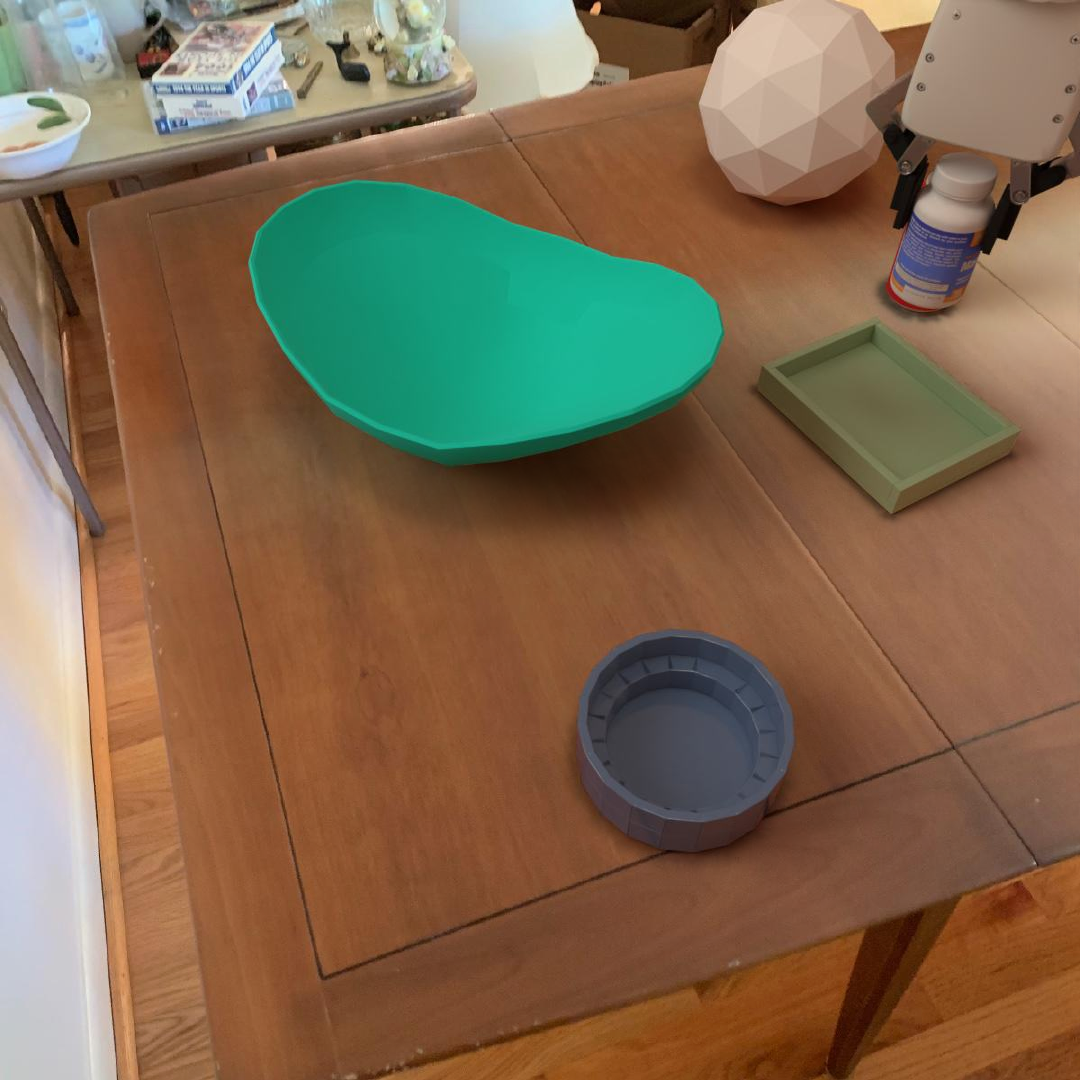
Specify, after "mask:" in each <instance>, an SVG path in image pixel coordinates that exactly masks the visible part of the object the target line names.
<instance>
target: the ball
mask: <svg viewBox="0 0 1080 1080" xmlns="http://www.w3.org/2000/svg"><path fill="white" fill-rule="evenodd" d="M895 54H896V53H895V50H894V49H893V48H892V46H891V45H890V44H889V43H888V41H887V40H886V38H885V37H884V36H883V35H882V33H881V32H880V31H879V29H878V28H877V27H876V25H875V24H874V22H873V21H872V20H871V18H870V17H869V16H868V14H867V13H866V12H865V10H864V9H862V8H859V7H856V6H853V5H850V4H848V3H845V2H842V1H839V0H780V1H777V2H774V3H771V4H767V5H764V6H761V7H757V8H754V9H753V10H752V12H750V13H749V14H748V16H747V17H745V18H744V20H743V21H741V23H740V24H739V25H738V26H737V27H736V28H735V29H734V30H733V31H732V32H731V33H730V34H729V35H728V36H727V37H726V39H725V40H724V41H722V43H720V44H719V46H717V49H716V52H715V55H714V58H713V61H712V63H711V67H710V70H709V73H708V76H707V79H706V81H705V84H704V87H703V90H702V92H701V95H700V98H699V101H698V108H699V113H700V116H701V121H702V125H703V130H704V134H705V139H706V143H707V148H708V152H709V153H710V155H711V156H712V158H713V159H714V161H715V162H716V164H717V165H718V167H719V168H720V170H721V171H722V172H723V174H724V175H725V176H726V178H727V180H728V181H729V182H730V184H731V185H732V187H733V188H734V190H735V191H736V192H738V193H741V194H744V195H747V196H751V197H754V198H757V199H760V200H763V201H766V202H769V203H772V204H776V205H779V206H782V207H788V206H792V205H796V204H800V203H805V202H810V201H815V200H818V199H822V198H828V197H829V196H831V195H833V194H835V193H837V192H838V191H839V190H841V189H842V188H844V187H845V186H846V185H847V184H849V183H850V182H852V181H853V180H854V179H855V178H857V177H859V176H860V175H861V174H862V173H863V172H864V173H865V171H867V170H868V169H869V168H870V167H872V166H873V165H875V164H876V163H877V162H878V160H879V157H880V154H881V151H882V149H883V146H884V144H885V141H884V139H883V134H882V132H881V131H880V130H878V129H877V127H876V126H875V124H874V123H873V121H872V120H871V118H870V117H869V116H868V114H867V113H866V105H867V104H868V102H869V101H870V99H871V98H872V97H873V96H874V95H875V94H876V93H878V92H879V91H881V90H882V89H883V88H885V87H886V86H888V85H889V84H891V83H892V82H893V81H895V80H896V60H895V59H896V58H895V57H896V55H895Z"/></svg>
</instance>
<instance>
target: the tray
mask: <svg viewBox="0 0 1080 1080" xmlns="http://www.w3.org/2000/svg"><path fill="white" fill-rule="evenodd" d="M756 390H757V391H758V392H759V393H760V394H761V395H762V396H763V397H764V398H765V399H766V400H767V401H769V402H770V403H771V404H772V405H773V407H775V408H776V409H777V410H778V411H779V412H780V413H781V414H783V416H785V417H786V419H788V420H789V421H790V422H791V423H792V424H793V425H794V426H795V427H796V428H797V429H799V430H800V431H801V432H802V434H804V435H805V436H806V437H807V438H808V439H809V440H810V441H811V442H813V443H814V444H815V445H816V446H817V447H818V448H819V449H820V450H821V451H822V452H823V453H824V454H826V455H827V456H828V457H829V458H830V459H831V460H832V461H833V462H834V463H835V464H836V465H837V466H838V467H840V469H842V470H843V471H844V472H845V473H846V474H847V475H848V476H849V477H850V478H851V479H852V480H853V481H854V482H856V483H857V484H858V485H859V486H860V487H861V488H862V489H863V490H864V491H865V492H866V493H867V494H868V495H869V496H870V497H872V498H873V499H874V500H875V501H876V502H877V503H878V504H879V505H880V506H881V507H882V508H883V509H884V510H885V511H886V512H888V513H889V514H890V515H893V514H895V513H897V512H899V511H901V510H903V509H905V508H907V507H909V506H910V505H913V504H915V503H917V502H919V501H921V500H923V499H924V498H926V497H929V496H930V495H932V494H934V493H936V492H938V491H941V490H942V489H944V488H946V487H948V486H949V485H952V484H954V483H956V482H958V481H960V480H961V479H963V478H966V477H968V476H969V475H971V474H973V473H975V472H977V471H979V470H981V469H982V468H983V469H984V468H985V467H987V466H989V465H990V464H993V463H994V462H996V461H999V460H1000V459H1002V458H1004V457H1006V456H1008V455H1009V454H1010V453H1011V451H1012V449H1013V447H1014V445H1015V444H1016V441H1017V440H1018V438H1019V436H1020V434H1021V432H1022V430H1021V429H1020V428H1019V427H1018V426H1017V425H1015V424H1014V423H1012V421H1010V420H1009V419H1007V418H1006V417H1005V416H1004V415H1002V414H1001V413H1000V412H998V411H997V409H994V408H993V407H992V406H991V405H990V404H988V403H987V402H985V401H984V400H983V399H982V398H980V397H979V396H978V395H977V394H976V393H974V392H973V391H971V389H969V388H968V387H967V386H965V385H964V384H962V383H961V381H959V380H957V379H956V378H955V377H954V376H952V375H951V374H949V373H948V372H947V371H946V370H945V369H944V368H942V367H941V366H939V365H938V363H935V362H934V361H933V360H932V359H931V358H929V357H928V356H927V355H925V354H924V353H923V352H922V351H921V350H919V349H918V348H916V347H915V346H914V344H912V343H910V342H909V341H907V340H906V339H905V338H904V337H903V336H901V335H899V333H897V332H896V331H895V330H893V329H892V328H891V327H890V326H888V325H887V324H886V323H884V322H883V321H882V320H881V319H880V318H878V316H874V317H873V318H872V317H871V318H870V319H867V320H865V321H862V322H860V323H858V324H856V325H853V326H851V327H848V328H846V329H844V330H842V331H839V332H837V333H834V334H831V335H830V336H827V337H825V338H823V339H820V340H818V341H815V342H814V343H811V344H809V345H807V346H804V347H801V348H799V349H797V350H794V351H792V352H790V353H787V354H785V355H783V356H781V357H778V358H776V359H773V360H771V361H768V362H766V363H764V364H762V365H761V369H760V372H759V377H758V383H757V387H756Z"/></svg>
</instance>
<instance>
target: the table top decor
mask: <svg viewBox="0 0 1080 1080" xmlns="http://www.w3.org/2000/svg"><path fill="white" fill-rule="evenodd" d="M247 264H248V269H249V273H250V277H251V282H252V287H253V292H254V297H255V301H256V304H257V306H258V308H259V310H260V312H261V314H262V316H263V317H264V319H265V321H266V322H267V325H268V326H269V328H270V330H271V332H272V334H273V335H274V337H275V339H276V341H277V343H278V344H279V346H280V348H281V350H282V351H283V353H284V354H285V355H286V357H287V359H288V360H289V362H290V363H291V364H292V366H293V367H294V368H295V370H296V371H297V372H298V373H299V375H300V376H301V377H302V378H303V379H304V380H305V381H306V383H307V384H308V385H309V386H310V387H311V388H312V390H313V391H314V392H315V393H316V395H317V396H318V397H319V398H320V400H321V401H322V402H323V403H324V404H325V405H326V406H327V408H329V410H330V411H331V412H332V414H333V415H334V416H336V417H337V418H339V419H340V420H343V421H344V422H346V423H348V424H350V425H351V426H352V427H353V426H354V427H355V428H357V429H358V430H361V431H362V432H364V433H366V434H368V435H369V436H371V437H372V438H374V439H376V440H378V441H380V442H381V443H383V444H385V445H387V446H389V447H391V448H393V449H395V450H397V451H400V452H403V453H406V454H409V455H413V456H415V457H419V458H421V459H424V460H428V461H431V462H434V463H437V464H440V465H443V466H446V467H458V466H459V467H460V466H469V465H477V464H488V463H489V464H490V463H499V462H505V461H509V460H515V459H519V458H524V457H529V456H533V455H537V454H538V455H539V454H543V453H547V452H553V451H556V450H561V449H564V448H567V447H570V446H573V445H577V444H580V443H583V442H587V441H590V440H594V439H597V438H600V437H603V436H607V435H610V434H613V433H616V432H619V431H622V430H625V429H628V428H630V427H632V426H635V425H638V424H639V423H642V422H644V421H646V420H648V419H650V418H652V417H655V416H658V415H660V414H662V413H664V412H667V411H669V410H671V409H673V408H674V407H675V406H676V405H678V403H680V402H681V401H682V400H683V399H684V398H685V397H686V396H688V395H689V394H690V393H691V392H692V391H693V390H694V389H696V388H697V387H698V386H699V385H700V384H701V383H702V382H703V381H704V379H705V377H706V376H707V375H708V373H710V371H711V369H712V368H713V366H714V364H715V362H716V358H717V356H718V354H719V352H720V349H721V346H722V344H723V341H724V338H725V336H726V332H725V327H724V323H723V319H722V314H721V309H720V304H719V303H718V302H717V301H716V300H715V298H713V297H712V296H711V295H710V294H709V293H708V292H707V291H706V289H704V287H702V286H701V285H700V283H698V281H696V280H695V279H694V278H692V277H690V276H687V275H685V274H682V273H680V272H677V271H675V270H673V269H671V268H669V267H665V266H664V265H661V264H658V263H654V262H648V261H643V260H637V259H631V258H624V257H619V256H613V255H610V254H608V253H606V252H603V251H601V250H598V249H595V248H592V247H590V246H588V245H585V244H582V243H580V242H577V241H574V240H572V239H569V238H567V237H564V236H561V235H557V234H553V233H550V232H547V231H542V230H539V229H535V228H532V227H529V226H525V225H521V224H517V223H515V222H511V221H510V220H507V219H505V218H503V217H501V216H498V215H496V214H494V213H492V212H490V211H487V210H485V209H483V208H481V207H479V206H477V205H475V204H472V203H470V202H469V201H466V200H463V199H461V198H459V197H456V196H452V195H449V194H445V193H441V192H438V191H435V190H432V189H431V190H430V189H427V188H423V187H420V186H417V185H413V184H409V183H405V182H394V181H393V182H392V181H391V182H390V181H379V180H378V181H377V180H362V179H354V180H349V181H348V180H347V181H344V182H339V183H335V184H330V185H325V186H321V187H315V188H313V189H311V190H309V191H307V192H305V193H303V194H301V195H299V196H298V197H296V198H294V199H292V200H290V201H288V202H286V203H284V204H282V205H281V206H279V208H277V210H276V211H275V212H274V213H273V214H272V215H271V216H270V217H269V218H268V219H267V220H266V221H265V222H264V223H263V224H262V226H260V227H259V229H258V230H257V231H256V233H255V237H254V241H253V244H252V248H251V252H250V255H249V259H248V263H247Z"/></svg>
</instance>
